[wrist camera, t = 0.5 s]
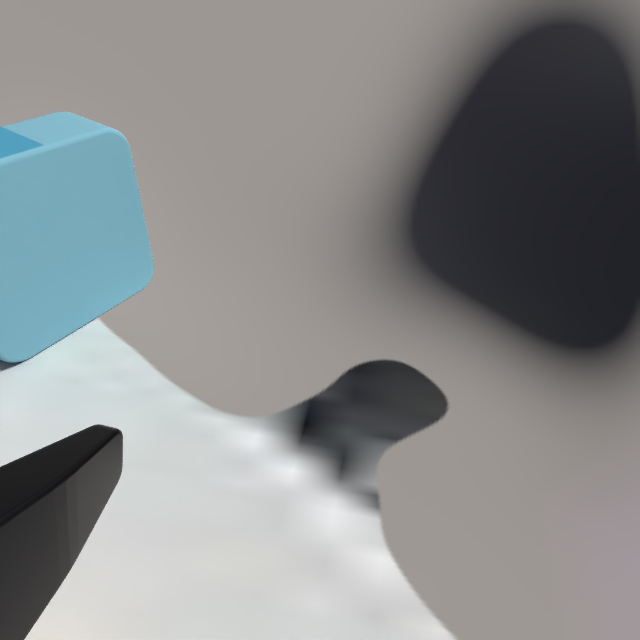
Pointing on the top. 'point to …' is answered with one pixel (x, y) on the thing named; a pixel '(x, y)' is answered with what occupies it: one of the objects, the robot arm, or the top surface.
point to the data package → (66, 230)
